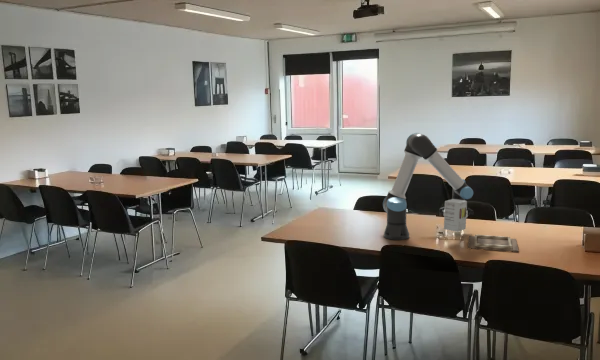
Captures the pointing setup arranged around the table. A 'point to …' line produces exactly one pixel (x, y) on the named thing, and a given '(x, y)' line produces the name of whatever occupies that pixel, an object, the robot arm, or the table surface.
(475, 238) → the grey brown square tray
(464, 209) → the supplement box
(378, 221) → the table surface
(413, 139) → the robot arm
